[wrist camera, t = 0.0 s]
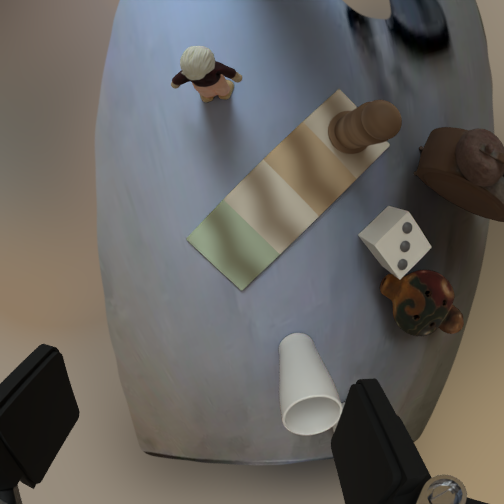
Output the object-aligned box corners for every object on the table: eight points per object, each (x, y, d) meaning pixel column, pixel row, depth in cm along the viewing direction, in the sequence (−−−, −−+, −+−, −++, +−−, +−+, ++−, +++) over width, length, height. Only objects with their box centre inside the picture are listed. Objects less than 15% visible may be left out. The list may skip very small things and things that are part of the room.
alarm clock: (474, 174, 36) (571, 186, 17) (460, 215, 38) (557, 245, 18) (407, 125, 35) (507, 102, 15) (391, 169, 36) (492, 173, 17)
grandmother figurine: (237, 70, 33) (231, 27, 21) (245, 96, 34) (242, 60, 22) (179, 87, 34) (149, 52, 22) (186, 113, 35) (157, 86, 22)
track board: (338, 89, 34) (339, 88, 33) (388, 145, 36) (390, 145, 35) (186, 238, 39) (186, 238, 38) (241, 289, 40) (241, 290, 40)
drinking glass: (295, 371, 44) (310, 443, 29) (263, 348, 43) (268, 420, 28) (327, 343, 43) (355, 411, 28) (296, 318, 42) (316, 384, 27)
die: (387, 205, 38) (409, 211, 32) (410, 237, 39) (432, 247, 33) (357, 235, 39) (374, 245, 33) (381, 265, 40) (400, 280, 34)
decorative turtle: (431, 330, 43) (451, 356, 35) (358, 305, 42) (373, 332, 35) (458, 279, 40) (484, 299, 32) (387, 246, 40) (409, 263, 32)
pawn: (347, 104, 34) (387, 76, 22) (376, 135, 35) (425, 122, 23) (318, 130, 35) (349, 111, 23) (349, 162, 36) (391, 158, 24)
